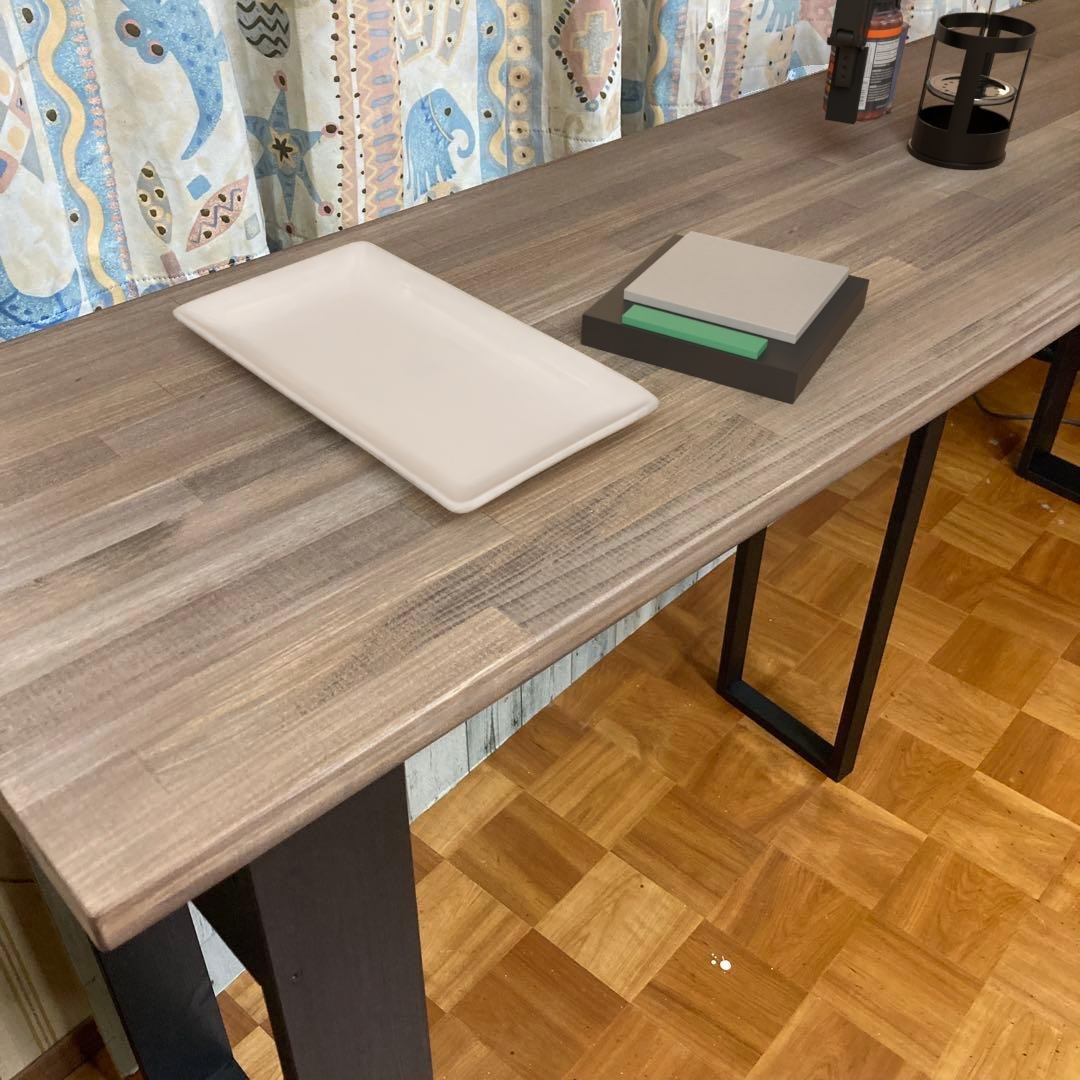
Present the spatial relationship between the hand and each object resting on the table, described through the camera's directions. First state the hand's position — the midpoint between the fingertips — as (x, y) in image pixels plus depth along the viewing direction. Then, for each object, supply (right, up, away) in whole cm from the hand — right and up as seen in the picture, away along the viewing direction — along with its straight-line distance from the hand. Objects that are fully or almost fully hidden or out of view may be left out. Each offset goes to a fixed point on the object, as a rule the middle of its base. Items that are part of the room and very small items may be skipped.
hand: (851, 110), depth 106 cm
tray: (-38, -31, -30) cm, 58 cm away
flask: (+6, +8, +19) cm, 21 cm away
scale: (-15, -25, -22) cm, 36 cm away
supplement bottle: (0, 0, 0) cm, 1 cm away
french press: (+12, -2, +7) cm, 14 cm away
